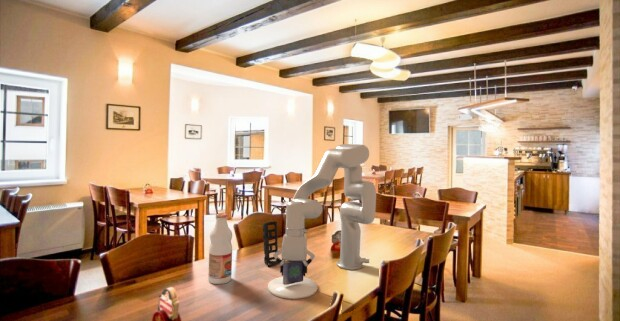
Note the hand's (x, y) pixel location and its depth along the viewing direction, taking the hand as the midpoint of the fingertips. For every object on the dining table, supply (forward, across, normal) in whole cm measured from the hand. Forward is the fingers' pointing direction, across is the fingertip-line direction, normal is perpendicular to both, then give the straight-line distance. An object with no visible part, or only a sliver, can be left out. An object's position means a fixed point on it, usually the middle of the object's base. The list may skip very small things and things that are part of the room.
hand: (293, 274), depth 133 cm
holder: (+6, +12, -28) cm, 31 cm away
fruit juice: (+6, +31, -6) cm, 32 cm away
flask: (+3, 0, 0) cm, 3 cm away
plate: (+6, 0, 0) cm, 6 cm away
